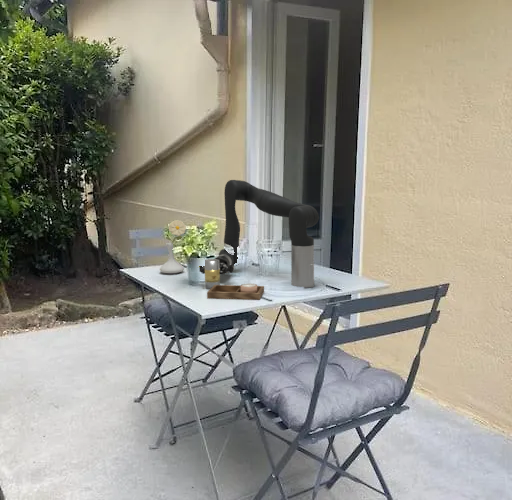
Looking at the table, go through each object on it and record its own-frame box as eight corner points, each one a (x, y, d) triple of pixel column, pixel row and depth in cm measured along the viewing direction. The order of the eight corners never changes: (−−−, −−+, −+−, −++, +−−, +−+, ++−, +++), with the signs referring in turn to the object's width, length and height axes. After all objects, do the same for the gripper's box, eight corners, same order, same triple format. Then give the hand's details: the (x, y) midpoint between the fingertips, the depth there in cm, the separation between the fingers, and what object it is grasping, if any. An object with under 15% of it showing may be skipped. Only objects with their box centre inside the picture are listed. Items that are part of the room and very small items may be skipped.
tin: (221, 287, 225) (220, 259, 223) (218, 291, 219) (217, 261, 217) (207, 287, 226) (206, 258, 224) (203, 290, 220) (202, 261, 218)
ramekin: (258, 293, 212) (258, 283, 211) (255, 297, 205) (255, 287, 205) (242, 293, 213) (242, 282, 212) (239, 297, 206) (239, 286, 206)
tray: (264, 293, 214) (264, 286, 214) (259, 301, 203) (259, 293, 202) (214, 292, 217) (214, 284, 217) (207, 299, 206) (207, 292, 205)
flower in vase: (157, 275, 250) (155, 221, 246) (161, 270, 261) (159, 218, 257) (186, 275, 250) (184, 221, 246) (188, 270, 262) (187, 218, 257)
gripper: (205, 255, 239) (195, 262, 223) (237, 255, 237) (229, 262, 221) (206, 272, 240) (196, 280, 225) (237, 272, 238) (230, 280, 222)
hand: (213, 271), depth 223 cm, fingers open, 8 cm apart
